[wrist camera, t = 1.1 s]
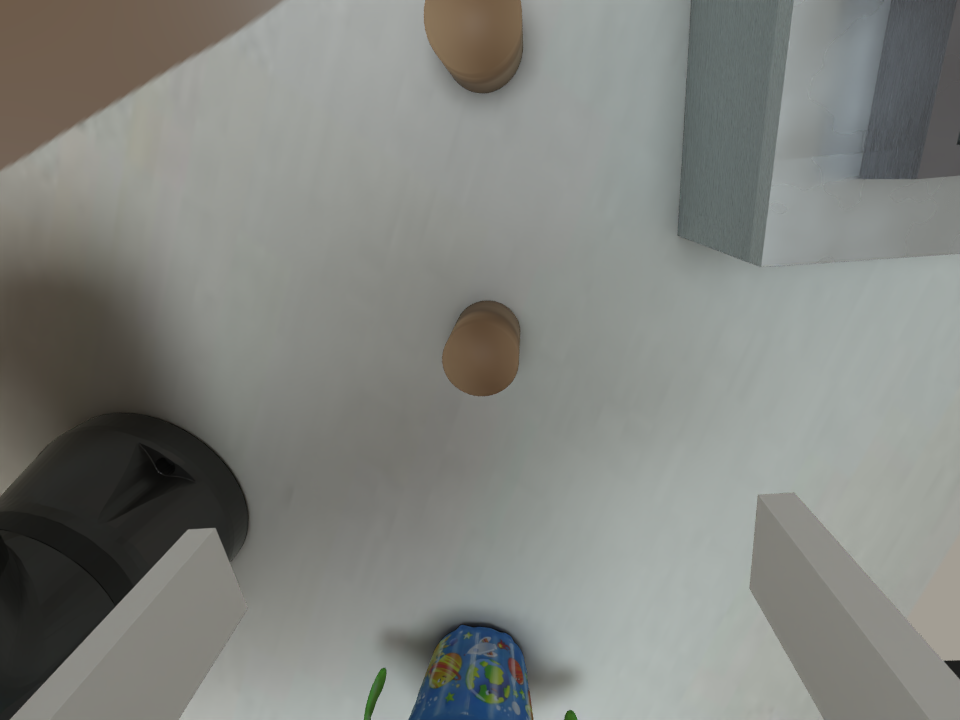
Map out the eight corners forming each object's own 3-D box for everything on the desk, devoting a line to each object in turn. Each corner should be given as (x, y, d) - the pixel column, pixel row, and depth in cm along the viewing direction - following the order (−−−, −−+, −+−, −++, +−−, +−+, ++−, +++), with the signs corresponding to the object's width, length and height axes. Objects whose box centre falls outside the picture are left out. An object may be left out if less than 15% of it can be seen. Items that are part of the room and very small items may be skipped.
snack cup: (377, 667, 41) (332, 812, 32) (403, 581, 37) (361, 718, 28) (547, 717, 41) (553, 876, 32) (591, 637, 38) (612, 792, 28)
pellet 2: (459, 363, 30) (446, 397, 25) (452, 302, 29) (438, 326, 24) (521, 360, 30) (520, 394, 25) (518, 298, 28) (516, 322, 24)
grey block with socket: (677, 235, 26) (798, 281, 14) (696, -84, 21) (903, -406, 9) (959, 213, 24) (1352, 246, 13) (1050, -139, 19) (1828, -610, 8)
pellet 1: (448, 97, 25) (430, 78, 20) (439, 6, 23) (417, -37, 19) (525, 88, 24) (524, 66, 20) (520, -6, 23) (518, -53, 18)
